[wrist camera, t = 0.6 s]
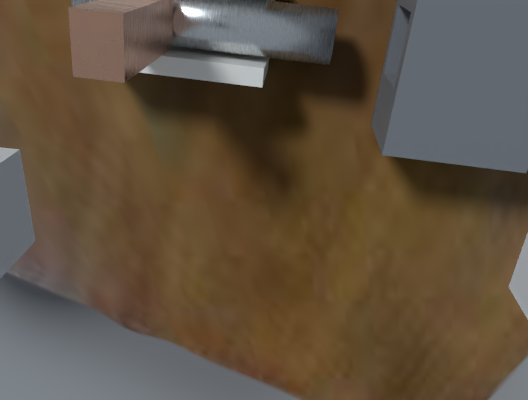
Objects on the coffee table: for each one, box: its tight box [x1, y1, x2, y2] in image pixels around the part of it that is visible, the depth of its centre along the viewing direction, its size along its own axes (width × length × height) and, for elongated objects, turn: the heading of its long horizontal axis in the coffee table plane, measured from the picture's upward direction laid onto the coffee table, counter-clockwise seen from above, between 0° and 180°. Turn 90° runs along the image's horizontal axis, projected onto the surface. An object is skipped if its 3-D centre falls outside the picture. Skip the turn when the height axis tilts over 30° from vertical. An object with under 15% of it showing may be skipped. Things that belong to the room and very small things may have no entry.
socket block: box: [371, 0, 528, 173], centre depth 31 cm, size 12×9×6 cm
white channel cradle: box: [139, 0, 275, 88], centre depth 32 cm, size 6×12×5 cm, turn 84°
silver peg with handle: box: [68, 0, 338, 83], centre depth 28 cm, size 3×16×12 cm, turn 84°
